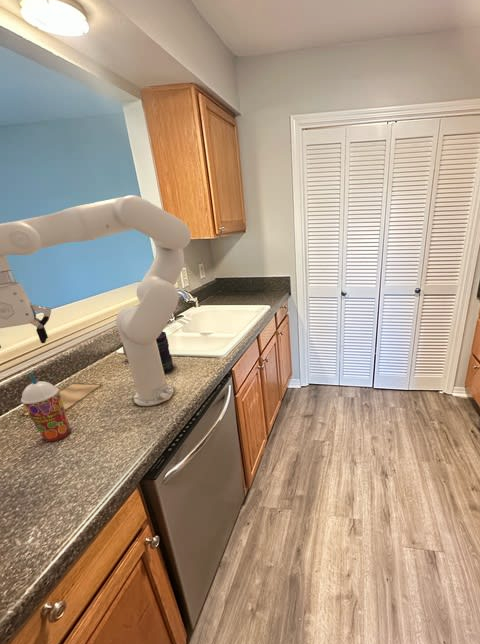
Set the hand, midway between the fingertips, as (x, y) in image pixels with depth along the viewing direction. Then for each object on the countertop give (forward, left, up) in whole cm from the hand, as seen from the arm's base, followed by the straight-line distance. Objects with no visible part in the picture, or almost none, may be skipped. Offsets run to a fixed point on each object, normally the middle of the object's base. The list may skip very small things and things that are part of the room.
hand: (21, 345), depth 84 cm
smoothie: (-2, +1, -28) cm, 28 cm away
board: (+18, -11, -28) cm, 35 cm away
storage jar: (+5, -41, -28) cm, 50 cm away
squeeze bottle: (+25, -44, -28) cm, 58 cm away
